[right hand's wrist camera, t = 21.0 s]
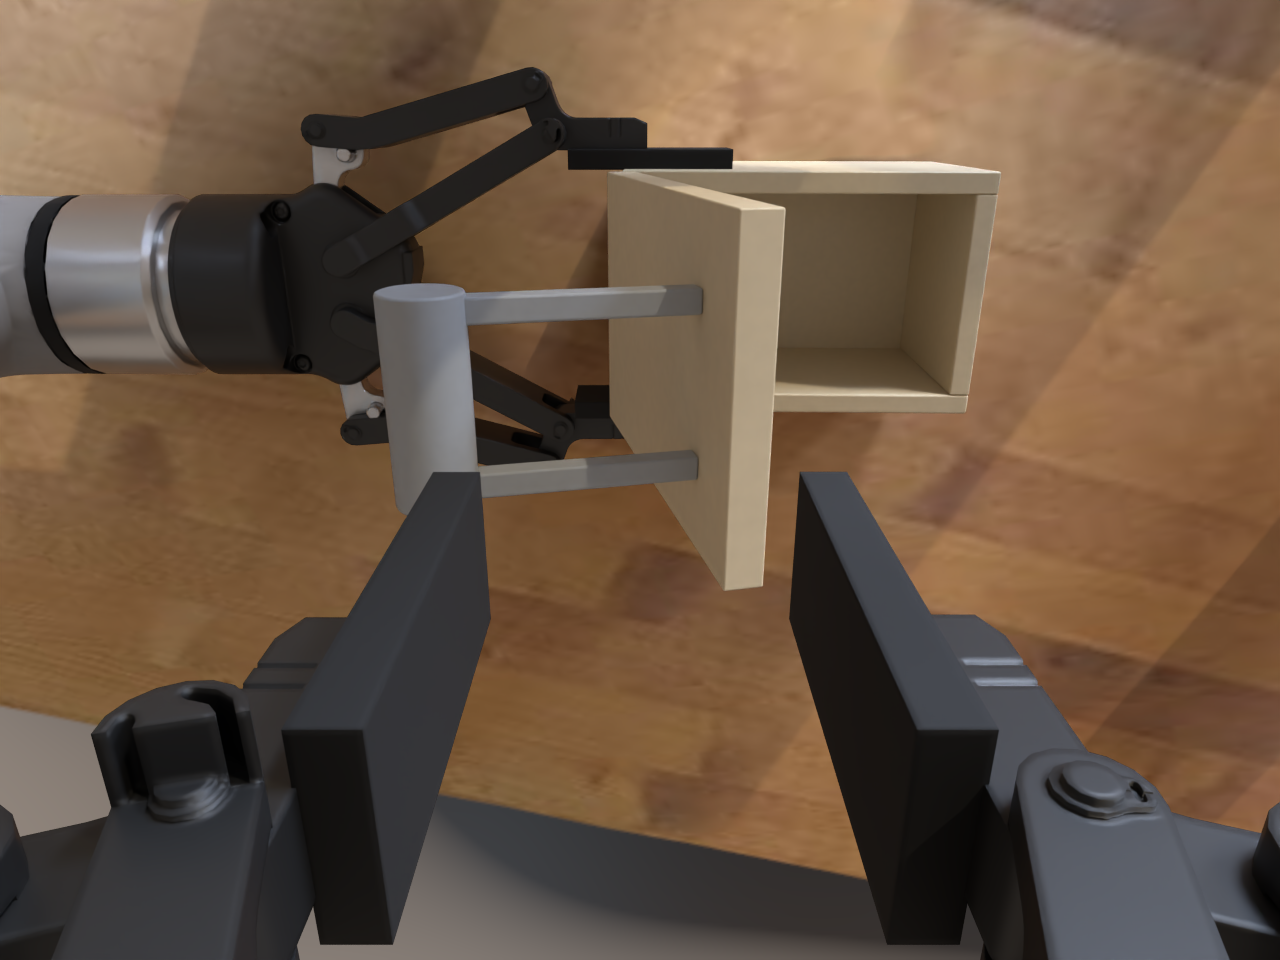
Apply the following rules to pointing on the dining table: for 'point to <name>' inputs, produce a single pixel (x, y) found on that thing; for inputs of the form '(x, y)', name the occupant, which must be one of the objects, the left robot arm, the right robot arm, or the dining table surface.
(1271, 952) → the right robot arm
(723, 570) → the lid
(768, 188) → the chest
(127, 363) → the left robot arm
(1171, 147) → the dining table surface
